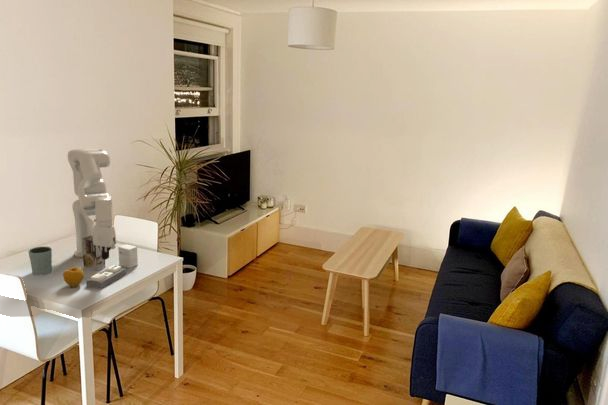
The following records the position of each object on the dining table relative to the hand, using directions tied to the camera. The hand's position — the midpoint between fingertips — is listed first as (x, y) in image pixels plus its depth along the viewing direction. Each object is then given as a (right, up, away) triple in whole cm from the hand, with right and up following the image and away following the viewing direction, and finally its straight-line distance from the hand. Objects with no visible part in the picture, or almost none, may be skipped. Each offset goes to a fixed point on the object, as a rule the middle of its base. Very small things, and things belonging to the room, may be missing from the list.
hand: (105, 258), depth 224 cm
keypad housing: (0, -11, +2) cm, 11 cm away
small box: (+3, -7, +22) cm, 23 cm away
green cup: (-35, -8, +7) cm, 37 cm away
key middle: (0, -11, +2) cm, 11 cm away
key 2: (+1, -8, +7) cm, 11 cm away
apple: (-12, -12, -6) cm, 18 cm away
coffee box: (-13, -7, +17) cm, 22 cm away
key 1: (-2, -11, -4) cm, 11 cm away
